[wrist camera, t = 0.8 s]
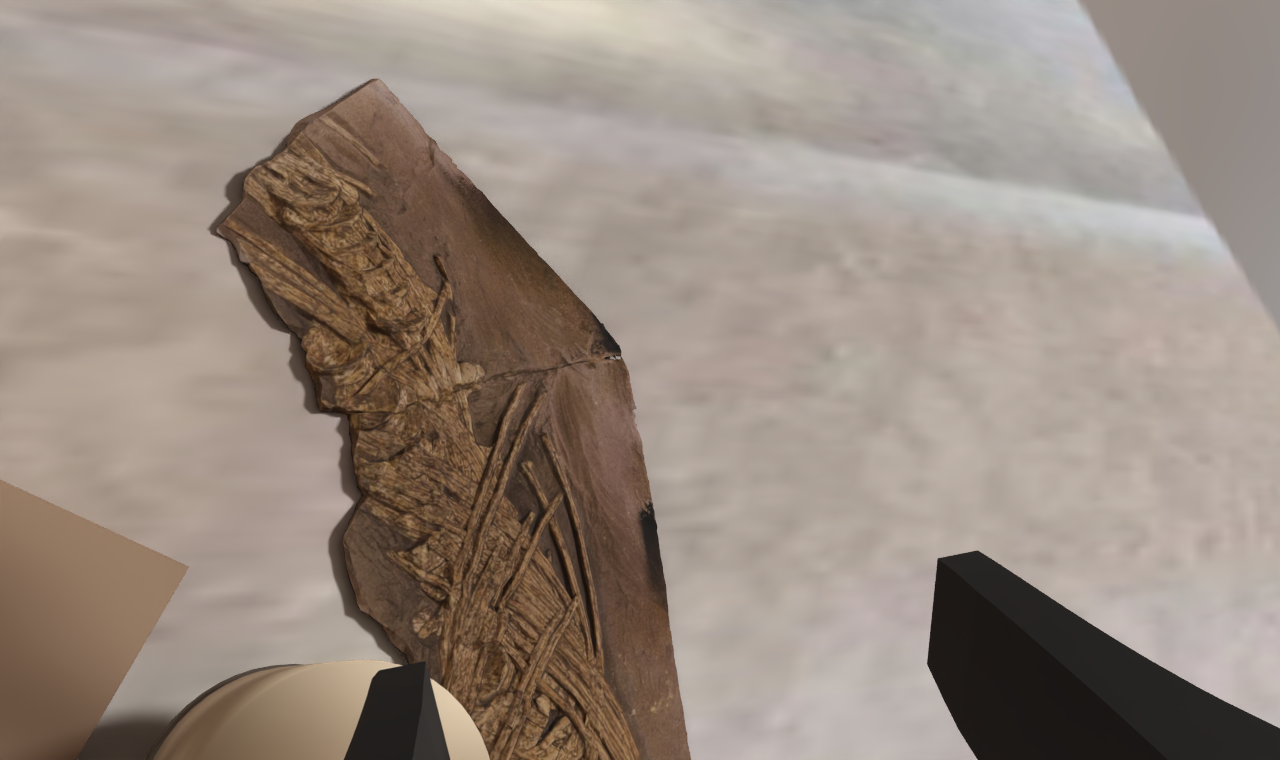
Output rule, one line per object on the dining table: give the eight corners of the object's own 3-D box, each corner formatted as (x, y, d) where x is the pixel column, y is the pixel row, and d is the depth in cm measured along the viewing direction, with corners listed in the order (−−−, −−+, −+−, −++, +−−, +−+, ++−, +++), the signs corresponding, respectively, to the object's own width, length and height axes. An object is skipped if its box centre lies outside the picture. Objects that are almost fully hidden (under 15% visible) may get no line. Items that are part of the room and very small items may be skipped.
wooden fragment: (166, 99, 26) (173, 79, 25) (503, 76, 33) (517, 60, 32) (501, 1016, 24) (521, 1028, 24) (779, 792, 31) (801, 795, 30)
